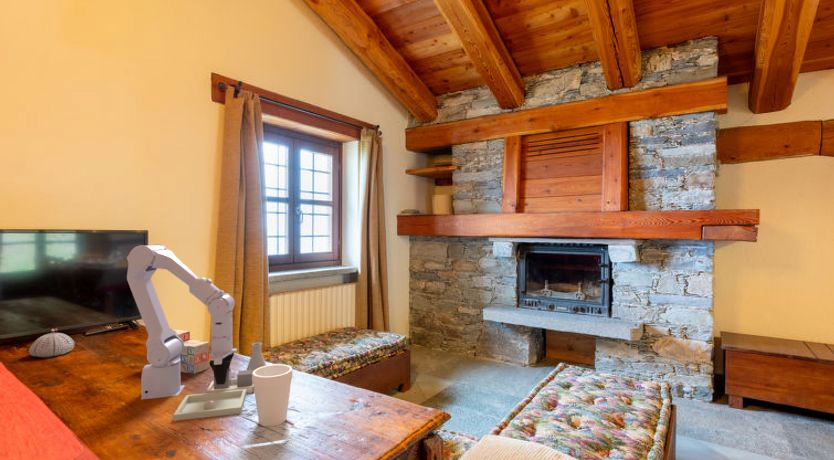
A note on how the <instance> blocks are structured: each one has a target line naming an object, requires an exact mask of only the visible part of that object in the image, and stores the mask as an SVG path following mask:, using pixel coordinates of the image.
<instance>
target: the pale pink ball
mask: <svg viewBox="0 0 834 460" xmlns="http://www.w3.org/2000/svg"><path fill="white" fill-rule="evenodd" d="M210 409H216V402H215V401H213V400H209V401H207V402H206V403H205V404H204V410H210Z"/></svg>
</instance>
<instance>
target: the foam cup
mask: <svg viewBox="0 0 834 460" xmlns="http://www.w3.org/2000/svg"><path fill="white" fill-rule="evenodd" d="M292 379H293V367H292V366H291V365H290V364H289V365H287V364H285V363H284V364H282V363H279V364H278V363H277V364H276V363H274V364H268V365H267V364H266V366H263V367H259V368H257V369H256V370H254V371H253V373H252V383H253V385H254V392H253V393H254V397H255V404H256V412H257V419H258V423H259V424H260V426H263V427H275V426H279V425H281V424H283V423H285V421H287V416H288V409H289V399H290V393H291V386H292V385H291V384H292Z"/></svg>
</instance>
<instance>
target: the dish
mask: <svg viewBox="0 0 834 460" xmlns="http://www.w3.org/2000/svg"><path fill="white" fill-rule="evenodd" d="M242 389H246V394H248V393H255V392H254V385H252V386H247V387H237V377H235V378H234V377H233V378H232V377H231V384H230V386H229V388H222V389H214V379H213V380H211V382H210V384H209V386H208V387H207V390H206V392H205V393H213V392H222V391H232V390H242Z"/></svg>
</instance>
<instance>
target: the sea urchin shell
mask: <svg viewBox="0 0 834 460" xmlns="http://www.w3.org/2000/svg"><path fill="white" fill-rule="evenodd" d="M75 343H76V342H75V341H74V340H73V338H72V337H71V336H69V335H67V334H65V333H62V332H50V333H46V334H44V335H42V336H40V337H38V338H37V339H36V340H34V342H33V343H32V344H31V345H30V347H29V350H28V352H29V354H30V355H31V356H32V357H36V358H51V357H56V356H61V355H62V356H63V355H65V354H67V353H69V352H70V351H72V350H73V349H74V347H75V346H76V345H75Z"/></svg>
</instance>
